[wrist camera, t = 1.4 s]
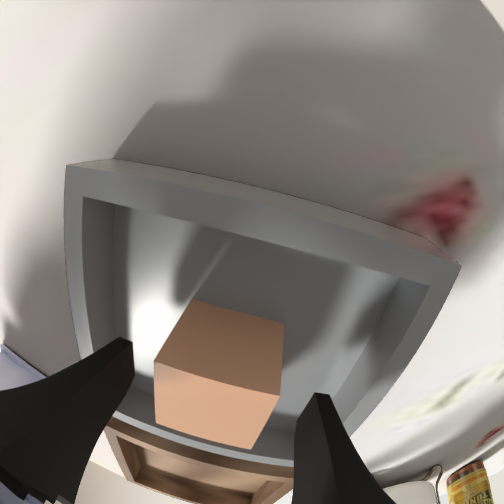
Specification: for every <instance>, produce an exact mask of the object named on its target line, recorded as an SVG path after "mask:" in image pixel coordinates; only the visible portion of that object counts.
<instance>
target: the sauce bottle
mask: <svg viewBox="0 0 504 504" xmlns="http://www.w3.org/2000/svg"><path fill="white" fill-rule="evenodd" d="M447 492H448V497H449V503H450V504H494V503H493V498H492V494H491V489H490V484H489V480H488V476H487V473H486V469H485V468H484V465H483V462H482V461H476V462H474V463H471V464H469V465H467V466H465V467H464V468H462V469H460V470H458V471H457V472H455V473H453V474H452V475H451V476H450V477H449V478H448V479H447Z"/></svg>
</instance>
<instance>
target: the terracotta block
mask: <svg viewBox="0 0 504 504" xmlns="http://www.w3.org/2000/svg"><path fill="white" fill-rule="evenodd" d="M283 337H284V323H281V322H276V321H272V320H268V319H264V318H260V317H256V316H252V315H249V314H245V313H241V312H237V311H233V310H230V309H226V308H222V307H219V306H215V305H212V304H208V303H205V302H201V301H198V300H195V299H191V301H190V302H189V304H188V305H187V307H186V309H185V310H184V312H183V313H182V315H181V317H180V318H179V320H178V321H177V323H176V325H175V326H174V328H173V330H172V331H171V333H170V335H169V336H168V338H167V339H166V341H165V343H164V344H163V346H162V348H161V349H160V351H159V353H158V354H157V356H156V358H155V359H154V398H155V416H156V423H158V424H160V425H163V426H166V427H169V428H172V429H174V430H177V431H181V432H184V433H187V434H190V435H193V436H197V437H200V438H204V439H207V440H211V441H215V442H219V443H223V444H227V445H231V446H236V447H240V448H245V449H250V450H251V449H252V447H253V445H254V443H255V442H256V440H257V438H258V436H259V435H260V433H261V431H262V429H263V427H264V426H265V424H266V422H267V420H268V418H269V416H270V414H271V413H272V411H273V409H274V407H275V405H276V403H277V401H278V399H279V397H280V389H281V374H282V357H283Z"/></svg>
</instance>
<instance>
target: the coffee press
mask: <svg viewBox="0 0 504 504" xmlns="http://www.w3.org/2000/svg"><path fill="white" fill-rule="evenodd" d="M437 468H441V472H440V474H439V476H438V479H437V481H436V493H437V497H436V493H435V489H434V486H433V485H432V484H431V483H430V482H427V481H426V480H427V479H428V478H429V476H430V475H431V473H432V472H433V471H434V470H435V469H437ZM442 474H443V468H442V466H441V465H435V466H433V467H432V468H431V470H430V471H429V473H428V474H427V475H426V477H425V478H423V479H422V480H420V481H413V482H407V483H402V484H398V485H394V486H390V487H386V488H383V490H384V491H385V492H386V493H387V494H388V495H389V496H390V498H391V499H392V500H393V501H394V502H395V503H396V504H438V503H439V504H440V500H439V494H438V483H439V480H440V478H441V476H442ZM437 498H438V502H437Z"/></svg>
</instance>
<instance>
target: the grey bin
mask: <svg viewBox="0 0 504 504" xmlns="http://www.w3.org/2000/svg"><path fill="white" fill-rule="evenodd" d="M64 245H65V262H66V273H67V283H68V291H69V299H70V306H71V312H72V318H73V324H74V329H75V334H76V339H77V344H78V348H79V352H80V357H81V360H82V359H84V358H86V357H87V356H89V355H91V354H92V353H94V352H96V351H97V350H99V349H100V348H102V347H104V346H105V345H107V344H108V343H110V342H112V341H113V340H115V339H117V338H118V337H122V338H124V339H126V340H129V341H131V342H133V353H134V366H135V377H134V379H133V381H132V383H131V385H130V388H129V390H128V392H127V394H126V396H125V397H124V399H123V400H122V402H121V403H120V405H119V406H118V408H117V410H116V411H115V413H114V414H113V417H115V418H117V419H119V420H122V421H124V422H126V423H128V424H130V425H133V426H135V427H138V428H140V429H142V430H145V431H147V432H150V433H152V434H155V435H158V436H161V437H163V438H166V439H169V440H172V441H175V442H178V443H181V444H184V445H187V446H190V447H194V448H197V449H201V450H204V451H208V452H212V453H216V454H220V455H224V456H228V457H233V458H238V459H242V460H248V461H253V462H259V463H265V464H272V465H279V466H287V467H294V437H295V430H296V422H297V419H298V417H299V416H300V414H301V413H302V411H303V410H304V408H305V407H306V405H307V404H308V402H309V400H310V399H311V397H312V396H313V394H314V392H317V393H323V394H329V395H330V397H331V399H332V401H333V403H334V406H335V408H336V410H337V412H338V415H339V417H340V419H341V421H342V423H343V426H344V428H345V430H346V432H347V434H348V436H349V437H350V436H351V435H352V434H353V433H354V432H355V431H356V430H357V428H358V427H359V426H360V425H361V424H362V423H363V422H364V421H365V420H366V418H367V417H368V416H369V415H370V414H371V413H372V411H373V410H374V409H375V408H376V407H377V405H378V404H379V403H380V402H381V400H382V399H383V398H384V397H385V395H386V394H387V393H388V391H389V390H390V389H391V387H392V386H393V385H394V383H395V382H396V381H397V379H398V378H399V377H400V375H401V374H402V372H403V371H404V369H405V368H406V367H407V365H408V364H409V362H410V361H411V359H412V358H413V356H414V355H415V353H416V352H417V350H418V348H419V347H420V345H421V344H422V342H423V340H424V339H425V337H426V335H427V334H428V332H429V330H430V329H431V327H432V325H433V323H434V321H435V320H436V318H437V316H438V314H439V312H440V310H441V309H442V307H443V305H444V303H445V301H446V299H447V297H448V295H449V293H450V291H451V289H452V286H453V284H454V282H455V280H456V278H457V276H458V273H459V271H460V269H461V265H460V264H459V263H458V262H456V261H455V260H454V259H453V258H451V257H450V256H449V255H447V254H446V253H445V252H444V251H442V250H441V249H440V248H438V247H437V246H436V245H434V244H433V243H432V242H430V241H429V240H427V239H426V238H423V237H421V236H418V235H415V234H412V233H410V232H407V231H404V230H401V229H398V228H396V227H393V226H390V225H387V224H384V223H381V222H378V221H375V220H372V219H369V218H366V217H362V216H359V215H356V214H353V213H350V212H346V211H343V210H340V209H337V208H333V207H330V206H326V205H323V204H320V203H316V202H313V201H309V200H305V199H302V198H298V197H294V196H291V195H287V194H283V193H279V192H275V191H272V190H268V189H264V188H260V187H255V186H251V185H247V184H243V183H239V182H234V181H230V180H225V179H221V178H216V177H212V176H207V175H202V174H197V173H192V172H187V171H182V170H177V169H172V168H166V167H161V166H155V165H149V164H143V163H137V162H131V161H124V160H117V159H104V160H96V161H89V162H82V163H75V164H69V165H66V173H65V190H64ZM191 299H195V300H198V301H201V302H205V303H208V304H212V305H215V306H219V307H222V308H226V309H230V310H233V311H237V312H241V313H245V314H249V315H252V316H256V317H260V318H264V319H268V320H272V321H276V322H281V323H284V337H283V357H282V374H281V389H280V397H279V399H278V401H277V403H276V405H275V407H274V409H273V411H272V413H271V414H270V416H269V418H268V420H267V422H266V424H265V426H264V427H263V429H262V431H261V433H260V435H259V436H258V438H257V440H256V442H255V443H254V445H253V447H252V449H251V450H250V449H245V448H240V447H236V446H231V445H227V444H223V443H219V442H215V441H211V440H207V439H204V438H200V437H197V436H193V435H190V434H187V433H184V432H181V431H177V430H174V429H172V428H169V427H166V426H163V425H160V424H158V423H156V416H155V398H154V359H155V358H156V356H157V354H158V353H159V351H160V349H161V348H162V346H163V344H164V343H165V341H166V339H167V338H168V336H169V335H170V333H171V331H172V330H173V328H174V326H175V325H176V323H177V321H178V320H179V318H180V317H181V315H182V313H183V312H184V310H185V309H186V307H187V305H188V304H189V302H190V301H191Z"/></svg>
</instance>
